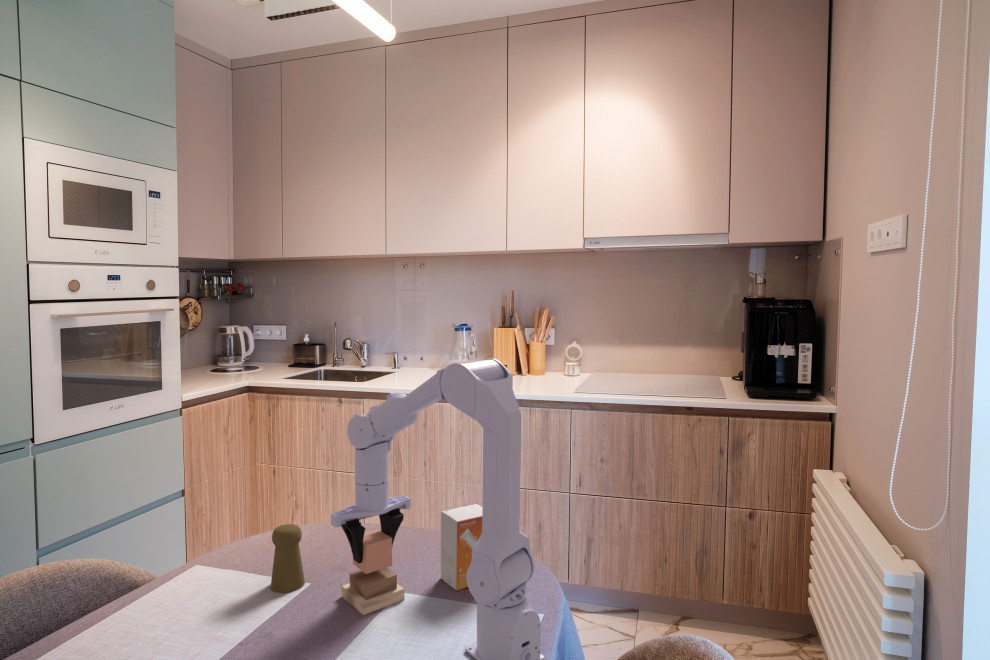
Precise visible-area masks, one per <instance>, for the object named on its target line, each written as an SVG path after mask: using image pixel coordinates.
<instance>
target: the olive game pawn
mask: <svg viewBox="0 0 990 660" xmlns="http://www.w3.org/2000/svg"><path fill="white" fill-rule="evenodd" d="M271 534H272V535H271V541H272V544H273V545H274V555H273V564H272V572H271V580H270V588H269V589H270V591H272V592H274V593H279V594H286V593H293V592H296V591H298V590H300V589H301V588H303V587H304V585H305V584H306V582H305V581H306V580H305V575H304V569H303V561H302V556H301V549H300V542H301V541H302V534H303V532H302V529H301V528H300V526H299V525H297V524H292V523H286V524H281V525H279V526H276V528H274V529H273V531H272V533H271Z"/></svg>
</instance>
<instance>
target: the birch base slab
mask: <svg viewBox="0 0 990 660" xmlns="http://www.w3.org/2000/svg"><path fill="white" fill-rule="evenodd" d="M341 597H342V598H343V599H344V600H345V601H347V602H348V603H349V604H350V605H351V606H352V607H353V608H354V609H355V610H357V611H358V612H359V613H360V614H362V615H363V616H364V615H367V614H369V613H372V612H375V611H378V610H380V609H383V608H386V607H389V606H392V605H394V604H396V603H400V602H402V601H404V600H405V588H404V587H402V586H401V585H400V584H398V583H397V589H394V590H392V591H389V592H386V593H384V594H381V595H379V596H376V597H373V598H371V599H368V600H366V599H364V598H363V597H362V596H361V595H359V594H358V593H357V592H356V591H354V590H353V589H352V588H351V587H350V582H349V583H346V584H343V585H341Z"/></svg>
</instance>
